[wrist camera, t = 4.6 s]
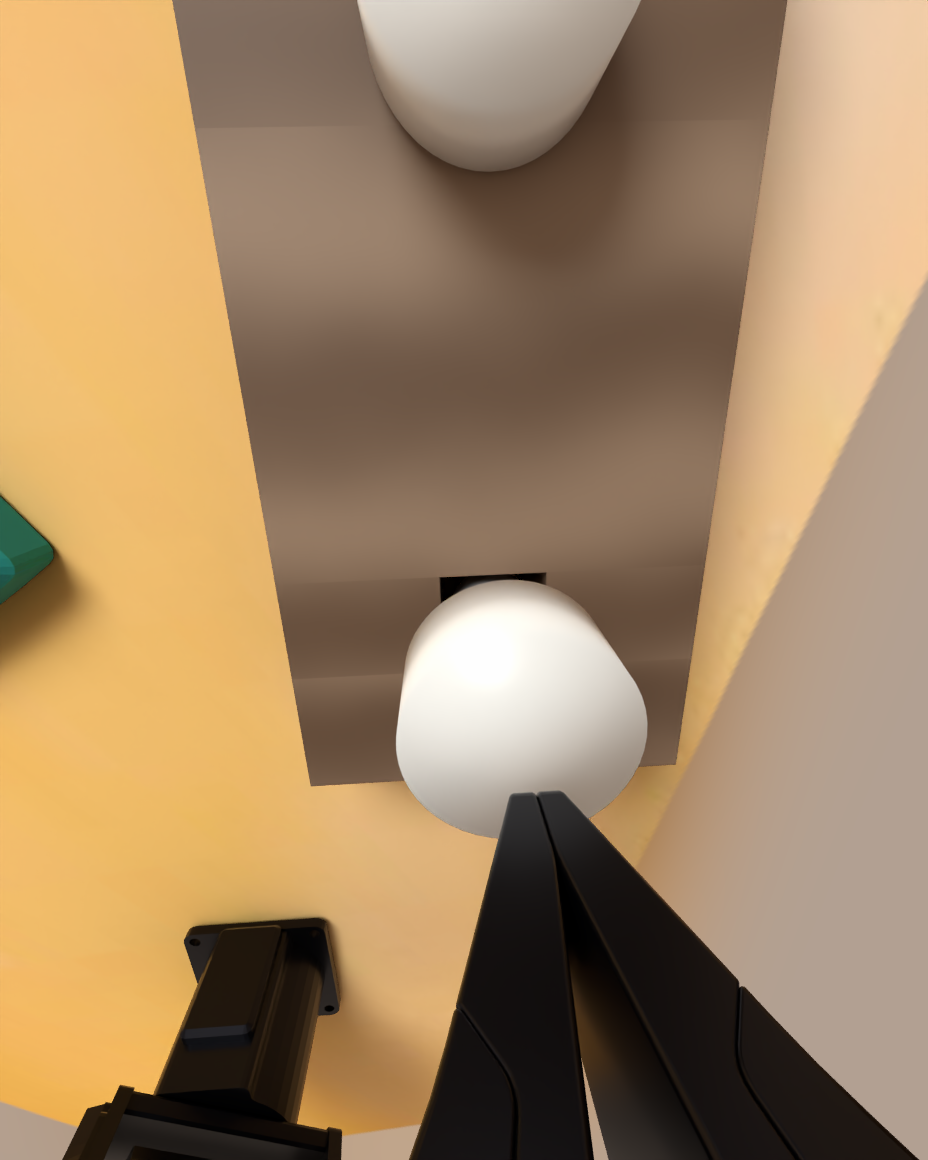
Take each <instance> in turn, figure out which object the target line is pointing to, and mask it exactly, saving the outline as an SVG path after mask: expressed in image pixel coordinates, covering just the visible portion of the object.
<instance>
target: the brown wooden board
mask: <svg viewBox="0 0 928 1160" xmlns="http://www.w3.org/2000/svg"><path fill="white" fill-rule="evenodd" d="M172 1H173V6H174V12H175V18H176V23H177V29H178V35H179V40H180V46H181V52H182V57H183V63H184V69H185V74H186V80H187V86H188V91H189V97H190V103H191V108H192V114H193V120H194V125H195V131H196V137H197V143H198V148H199V154H200V160H201V165H202V171H203V177H204V182H205V188H206V194H207V199H208V205H209V211H210V216H211V222H212V228H213V233H214V239H215V245H216V250H217V256H218V262H219V267H220V273H221V279H222V284H223V290H224V296H225V302H226V307H227V313H228V319H229V324H230V330H231V336H232V341H233V347H234V353H235V358H236V364H237V370H238V375H239V381H240V387H241V392H242V398H243V404H244V409H245V415H246V421H247V426H248V432H249V438H250V443H251V449H252V455H253V461H254V466H255V472H256V478H257V483H258V489H259V495H260V500H261V506H262V512H263V517H264V523H265V529H266V534H267V540H268V546H269V551H270V557H271V563H272V568H273V574H274V580H275V585H276V591H277V597H278V602H279V608H280V614H281V620H282V625H283V631H284V637H285V642H286V648H287V654H288V659H289V665H290V671H291V676H292V682H293V688H294V693H295V699H296V705H297V710H298V716H299V722H300V727H301V733H302V739H303V744H304V750H305V756H306V762H307V767H308V773H309V779H310V784H311V786H324V785H341V784H358V783H374V782H391V781H405V780H404V778H403V776H402V773H401V770H400V767H399V764H398V758H397V753H396V733H397V725H398V717H399V709H400V700H401V692H402V684H403V676H404V668H405V661H406V655H407V652H408V648H409V645H410V643H411V641H412V639H413V636H414V634H415V632H416V631H417V629H418V628H419V626H420V625H421V623H422V622H423V621H424V620H425V618H426V617H427V616H428V615H429V614H430V613H431V612H432V611H433V610H434V609H435V608H436V607H437V606H439V605H440V604H441V603H442V585H441V577H455V576H477V575H498V574H520V573H523V581H530V582H536V583H539V584H543V585H547V586H549V587H552V588H554V589H556V590H559V591H561V592H562V593H564V594H566V595H567V596H569V597H571V598H572V599H573V600H574V601H576V602H577V603H578V604H579V605H581V606H582V607H583V608H584V610H585V611H586V612H587V613H588V614H589V615H590V616H591V618H592V619H593V621H594V622H595V624H596V625H597V627H598V628H599V630H600V631H601V633H602V634H603V636H604V637H605V639H606V640H607V641H608V643H609V644H610V646H611V647H612V649H613V650H614V652H615V653H616V655H617V656H618V658H619V659H620V661H621V662H622V664H623V665H624V667H625V668H626V670H627V671H628V673H629V674H630V675H631V677H632V678H633V680H634V681H635V683H636V685H637V687H638V689H639V691H640V693H641V695H642V698H643V701H644V705H645V708H646V715H647V723H648V724H647V739H646V744H645V749H644V753H643V755H642V758H641V761H640V764H639V766H638V767H642V766H659V765H675V764H676V759H677V752H678V745H679V739H680V732H681V725H682V718H683V711H684V704H685V698H686V691H687V684H688V677H689V670H690V663H691V656H692V650H693V643H694V636H695V629H696V622H697V615H698V608H699V602H700V595H701V588H702V581H703V574H704V567H705V560H706V554H707V547H708V540H709V533H710V526H711V519H712V513H713V506H714V499H715V492H716V485H717V478H718V471H719V465H720V458H721V451H722V444H723V437H724V430H725V423H726V417H727V410H728V403H729V396H730V389H731V382H732V375H733V369H734V362H735V355H736V348H737V341H738V334H739V328H740V321H741V314H742V307H743V300H744V293H745V286H746V280H747V273H748V266H749V259H750V252H751V245H752V238H753V232H754V225H755V218H756V211H757V204H758V197H759V190H760V184H761V177H762V170H763V163H764V156H765V149H766V143H767V136H768V129H769V122H770V115H771V108H772V101H773V95H774V88H775V81H776V74H777V67H778V60H779V53H780V47H781V40H782V33H783V26H784V19H785V12H786V5H787V0H641V1H640V3H639V6H638V8H637V10H636V12H635V14H634V16H633V18H632V20H631V22H630V24H629V26H628V28H627V30H626V31H625V33H624V35H623V37H622V39H621V41H620V43H619V45H618V47H617V49H616V51H615V53H614V54H613V56H612V58H611V60H610V62H609V64H608V66H607V68H606V70H605V72H604V74H603V76H602V78H601V79H600V81H599V83H598V85H597V87H596V89H595V91H594V93H593V95H592V97H591V99H590V100H589V102H588V104H587V106H586V107H585V109H584V111H583V113H582V114H581V116H580V117H579V119H578V120H577V121H576V123H575V124H574V126H573V127H572V128H571V130H570V131H569V132H568V133H567V134H566V135H565V136H564V137H563V138H562V139H561V140H560V141H559V142H558V143H557V144H556V145H555V146H553V147H552V148H551V149H550V150H549V151H547V152H546V153H544V154H543V155H541V156H540V157H538V158H536V159H535V160H533V161H531V162H528V163H526V164H524V165H522V166H519V167H515V168H512V169H508V170H503V171H493V172H484V171H473V170H468V169H464V168H460V167H457V166H455V165H452V164H450V163H447V162H445V161H443V160H441V159H440V158H438V157H436V156H434V155H433V154H431V153H430V152H429V151H427V150H426V149H425V148H423V147H422V146H421V145H420V144H418V143H417V142H416V141H415V140H414V139H413V138H412V137H411V136H410V134H409V133H408V132H407V131H406V130H405V129H404V128H403V126H402V125H401V124H400V122H399V121H398V120H397V118H396V117H395V116H394V114H393V112H392V111H391V109H390V107H389V106H388V104H387V102H386V101H385V98H384V96H383V94H382V92H381V90H380V88H379V85H378V83H377V81H376V78H375V75H374V72H373V69H372V66H371V63H370V58H369V54H368V50H367V45H366V41H365V36H364V31H363V26H362V21H361V17H360V12H359V7H358V2H357V0H172Z"/></svg>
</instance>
